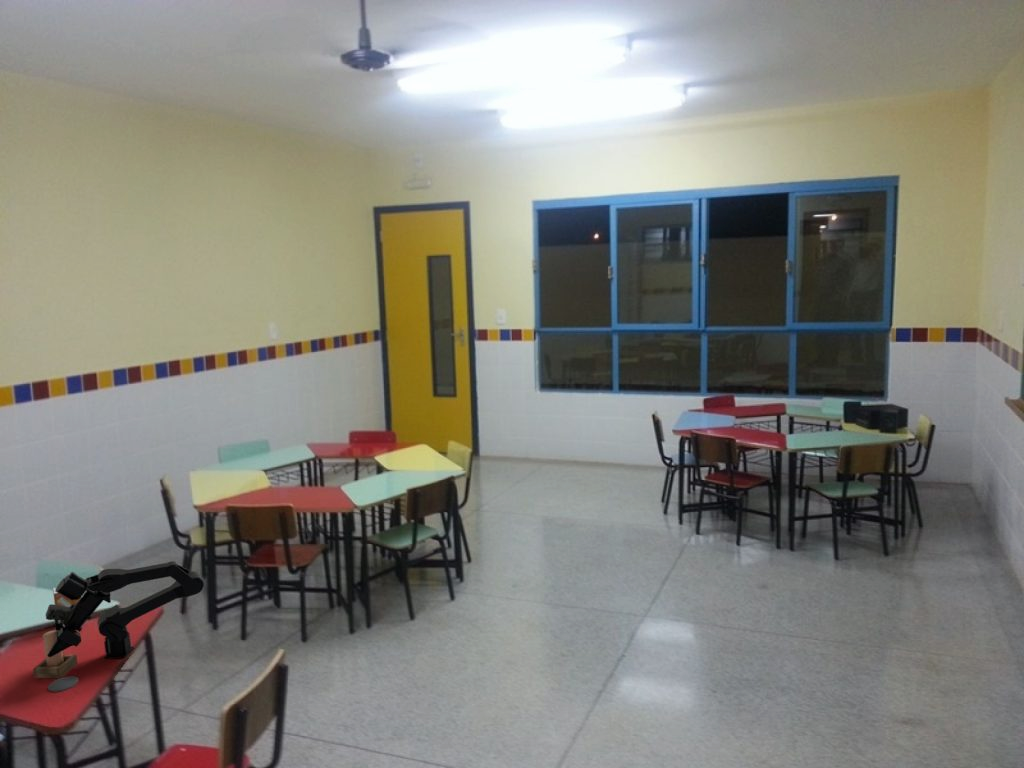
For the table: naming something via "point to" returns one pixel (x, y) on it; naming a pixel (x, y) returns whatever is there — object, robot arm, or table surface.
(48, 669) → the walnut socket
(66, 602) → the small box
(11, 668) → the table surface
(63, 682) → the charcoal coaster
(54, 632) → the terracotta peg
